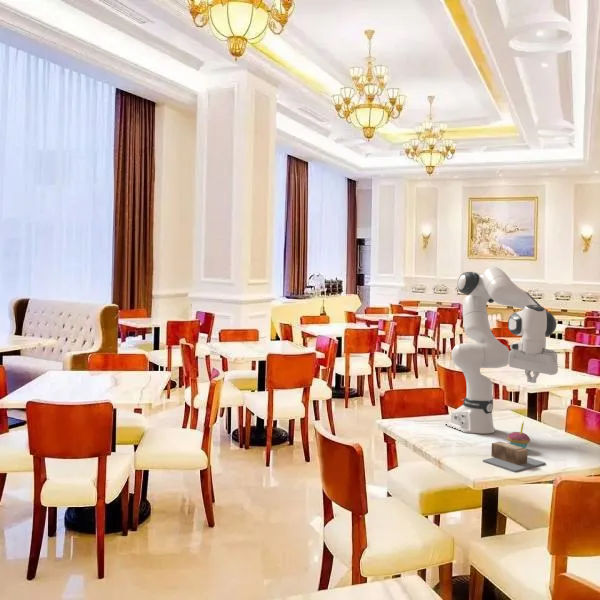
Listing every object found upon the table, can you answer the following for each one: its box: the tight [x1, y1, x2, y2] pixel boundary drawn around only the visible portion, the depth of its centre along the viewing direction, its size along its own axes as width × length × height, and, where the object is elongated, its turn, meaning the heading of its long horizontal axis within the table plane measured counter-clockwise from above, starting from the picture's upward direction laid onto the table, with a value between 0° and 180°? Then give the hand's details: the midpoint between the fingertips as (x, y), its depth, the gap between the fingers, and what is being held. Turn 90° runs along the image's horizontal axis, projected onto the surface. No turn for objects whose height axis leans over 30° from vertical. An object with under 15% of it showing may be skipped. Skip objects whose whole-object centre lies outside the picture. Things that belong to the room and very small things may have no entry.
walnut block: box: [491, 441, 529, 465], centre depth 226 cm, size 5×5×12 cm
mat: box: [482, 456, 547, 473], centre depth 224 cm, size 14×18×1 cm
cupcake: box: [506, 420, 531, 449], centre depth 241 cm, size 9×8×12 cm
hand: (531, 382), depth 237 cm, fingers closed
